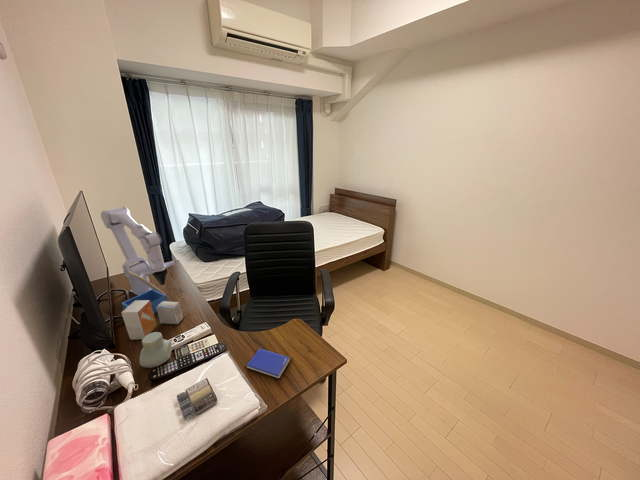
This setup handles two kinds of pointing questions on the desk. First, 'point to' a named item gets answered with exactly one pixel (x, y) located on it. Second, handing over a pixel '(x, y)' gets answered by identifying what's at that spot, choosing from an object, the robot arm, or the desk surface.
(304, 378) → the desk surface
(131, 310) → the small box
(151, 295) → the case
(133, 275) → the lid
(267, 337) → the desk surface
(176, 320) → the medicine box
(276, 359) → the hard drive
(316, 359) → the desk surface
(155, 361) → the air freshener
